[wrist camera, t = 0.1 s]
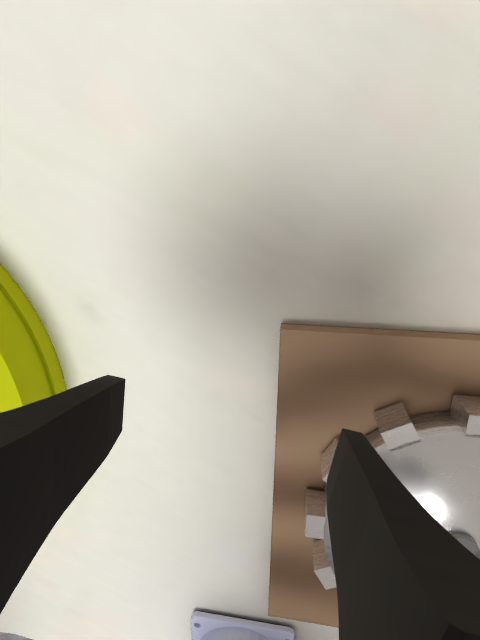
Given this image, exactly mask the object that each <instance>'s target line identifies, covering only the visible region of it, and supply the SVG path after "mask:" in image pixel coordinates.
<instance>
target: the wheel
mask: <svg viewBox="0 0 480 640" xmlns="http://www.w3.org/2000/svg"><path fill="white" fill-rule="evenodd" d="M373 413H374V416H375V419H376V422H377V425H378V428H379V429H377V430H375V431H373V432H372V433H370V434H368V435H366V436H365V437H366V438H367V440H368V441H369V442H370V444H371V445H372V446H373V447H374V449H375V450H376V451H377V453H378V454H379V455H380V457H381V458H382V459H383V460H384V462H385V463H386V464H387V466H388V467H389V468H390V469H391V471H392V472H393V473H394V474H395V476H396V477H397V478H398V479H399V480H400V482H401V483H402V484H403V485H404V486H405V487H406V489H407V490H408V491H409V492H410V493H411V494H412V495H413V496H414V497H415V499H416V500H417V501H418V502H419V503H420V504H421V505H422V506H423V507H424V508H425V509H426V510H427V511H428V512H429V514H430V515H431V516H432V517H433V518H434V519H436V520H437V521H438V522H439V523H440V524H441V525H442V526H443V527H444V528H445V529H446V530H447V531H448V532H449V533H450V534H451V535H452V536H453V537H454V538H455V539H457V540H458V541H459V542H460V543H461V544H462V545H463V546H464V547H466V548H467V549H468V550H469V551H470V552H472V553H473V554H474V555H475V556H476V557H478V558H479V559H480V396H467V395H454V394H453V399H452V404H451V408H450V412H439V413H428V414H423V415H417V416H412V417H409V416H408V414H407V412H406V410H405V408H404V406H403V404H402V402H399V403H397V404H394V405H391V406H389V407H386V408H383V409H381V410H378V411H375V412H373ZM338 440H339V439H338V438H337V437H336V438H335V439H334V441H333V442H332V443H331V444H330V445H329V446H328V448H327V449H326V450H325V451H324V452H323V453H322V455H321V456H320V457H321V471H322V480H323V481H325V482H326V485H325V488H324V491H319V490H311V489H306V499H305V537H310V538H318V539H321V540H317V541H314V542H313V560H314V572H315V573H316V575H317V577H318V578H319V580H320V581H321V583H322V585H323V586H324V588H325V589H326V590H327V589H331V588H335V587H336V579H335V572H334V564H333V556H332V549H331V541H330V533H329V525H328V517H327V477H328V474H329V471H330V467H331V464H332V460H333V457H334V454H335V450H336V447H337V444H338Z"/></svg>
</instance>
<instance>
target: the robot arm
mask: <svg viewBox="0 0 480 640" xmlns="http://www.w3.org/2000/svg"><path fill="white" fill-rule="evenodd" d="M124 391H125V379H124V378H119V377H115V376H110V375H107V376H103V377H100V378H97V379H95V380H92V381H89V382H87V383H84V384H82V385H79V386H77V387H74V388H71V389H69V390H66V391H64V392H61V393H58V394H56V395H53V396H50V397H48V398H45V399H42V400H39V401H36V402H33V403H30V404H27V405H24V406H22V407H18V408H15V409H12V410H8V411H5V412H1V413H0V614H1V612H2V610H3V609H4V607H5V605H6V603H7V602H8V600H9V598H10V596H11V595H12V593H13V591H14V589H15V588H16V586H17V585H18V583H19V581H20V580H21V578H22V576H23V575H24V573H25V571H26V570H27V568H28V566H29V565H30V563H31V561H32V560H33V558H34V556H35V555H36V553H37V552H38V550H39V549H40V547H41V545H42V544H43V542H44V541H45V539H46V538H47V536H48V534H49V533H50V531H51V530H52V528H53V527H54V525H55V524H56V522H57V521H58V520H59V518H60V517H61V515H62V514H63V513H64V511H65V510H66V509H67V507H68V506H69V505H70V504H71V502H72V501H73V500H74V498H75V497H76V496H77V495H78V493H79V492H80V491H81V489H82V488H83V487H84V486H85V484H86V483H87V482H88V480H89V479H90V478H91V477H92V475H93V474H94V473H95V471H96V470H97V469H98V468H99V466H100V465H101V464H102V462H103V461H104V460H105V458H106V457H107V455H108V454H109V452H110V450H111V449H112V447H113V446H114V444H115V442H116V440H117V438H118V437H119V435H120V433H121V431H122V422H123V407H124ZM327 517H328V525H329V533H330V541H331V549H332V556H333V564H334V572H335V579H336V588H337V599H338V619H339V640H480V559H479V558H478V557H476V556H475V555H474V554H473V553H472V552H470V551H469V550H468V549H467V548H466V547H464V546H463V545H462V544H461V543H460V542H459V541H458V540H457V539H455V538H454V537H453V536H452V535H451V534H450V533H449V532H448V531H447V530H446V529H445V528H444V527H443V526H442V525H441V524H440V523H439V522H438V521H437V520H436V519H434V518H433V517H432V516H431V515H430V514H429V512H428V511H427V510H426V509H425V508H424V507H423V506H422V505H421V504H420V503H419V502H418V501H417V500H416V499H415V497H414V496H413V495H412V494H411V493H410V492H409V491H408V490H407V489H406V487H405V486H404V485H403V484H402V483H401V482H400V480H399V479H398V478H397V477H396V476H395V474H394V473H393V472H392V471H391V469H390V468H389V467H388V466H387V464H386V463H385V462H384V460H383V459H382V458H381V457H380V455H379V454H378V453H377V451H376V450H375V449H374V447H373V446H372V445H371V444H370V442H369V441H368V440H367V438H366V437H365V436H364V435H363V433H362V432H357V431H353V430H348V429H344V428H342V430H341V433H340V437H339V440H338V444H337V447H336V450H335V454H334V457H333V460H332V464H331V467H330V471H329V474H328V477H327ZM191 630H192V640H294V630H293V629H292V628H290V627H286V626H280V625H274V624H269V623H263V622H257V621H251V620H245V619H240V618H234V617H228V616H222V615H216V614H211V613H205V612H199V611H195V612H193V613H192V617H191ZM0 640H32V639H29V638H25V637H22V636H19V635H16V634H10V633H1V632H0Z"/></svg>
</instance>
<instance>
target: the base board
mask: <svg viewBox="0 0 480 640" xmlns="http://www.w3.org/2000/svg"><path fill="white" fill-rule="evenodd" d="M453 394H454V395H467V396H480V335H479V334H461V333H442V332H424V331H406V330H388V329H370V328H352V327H334V326H316V325H298V324H281V329H280V352H279V375H278V398H277V422H276V445H275V468H274V492H273V515H272V538H271V562H270V585H269V609H268V616H274V617H280V618H286V619H292V620H298V621H304V622H310V623H315V624H321V625H327V626H333V627H339V619H338V599H337V588H336V587H335V588H331V589H327V590H326V589H325V588H324V586H323V585H322V583H321V581H320V580H319V578H318V577H317V575H316V573H315V572H314V560H313V542H314V541H317V540H321V539H318V538H310V537H305V499H306V489H311V490H319V491H324V488H325V485H326V482H325V481H323V480H322V471H321V457H320V456H321V455H322V453H323V452H324V451H325V450H326V449H327V448H328V446H329V445H330V444H331V443H332V442H333V441H334V439H335V438H336V437H337V438H338V439H339V437H340V433H341V430H342V428H344V429H348V430H353V431H357V432H362V433H363V435H364V436H366V435H368V434H370V433H372V432H373V431H375V430H377V429H379V428H378V425H377V422H376V419H375V416H374V413H373V412H375V411H378V410H381V409H383V408H386V407H389V406H391V405H394V404H397V403H399V402H402V404H403V406H404V408H405V410H406V412H407V414H408V416H409V417H412V416H417V415H423V414H428V413H439V412H450V408H451V404H452V399H453Z"/></svg>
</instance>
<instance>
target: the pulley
mask: <svg viewBox="0 0 480 640" xmlns="http://www.w3.org/2000/svg"><path fill="white" fill-rule="evenodd" d="M64 391H66V386H65V381H64V377H63V374H62V370H61V367H60V363H59V361H58V358H57V355H56V352H55V350H54V347H53V345H52V343H51V340H50V338H49V336H48V334H47V332H46V330H45V328H44V326H43V324H42V322H41V320H40V318H39V317H38V315H37V313H36V311H35V310H34V308H33V307H32V305H31V304H30V302H29V300H28V299H27V297H26V296H25V295H24V293H23V292H22V290H21V289H20V288H19V286H18V285H17V283H16V282H15V281H14V280H13V279H12V277H11V276H10V275H9V274H8V272H7V271H6V270H5V269H4V268H3V267H2V266H1V264H0V413H1V412H5V411H8V410H12V409H15V408H18V407H22V406H24V405H27V404H30V403H33V402H36V401H39V400H42V399H45V398H48V397H50V396H53V395H56V394H58V393H61V392H64Z"/></svg>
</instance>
